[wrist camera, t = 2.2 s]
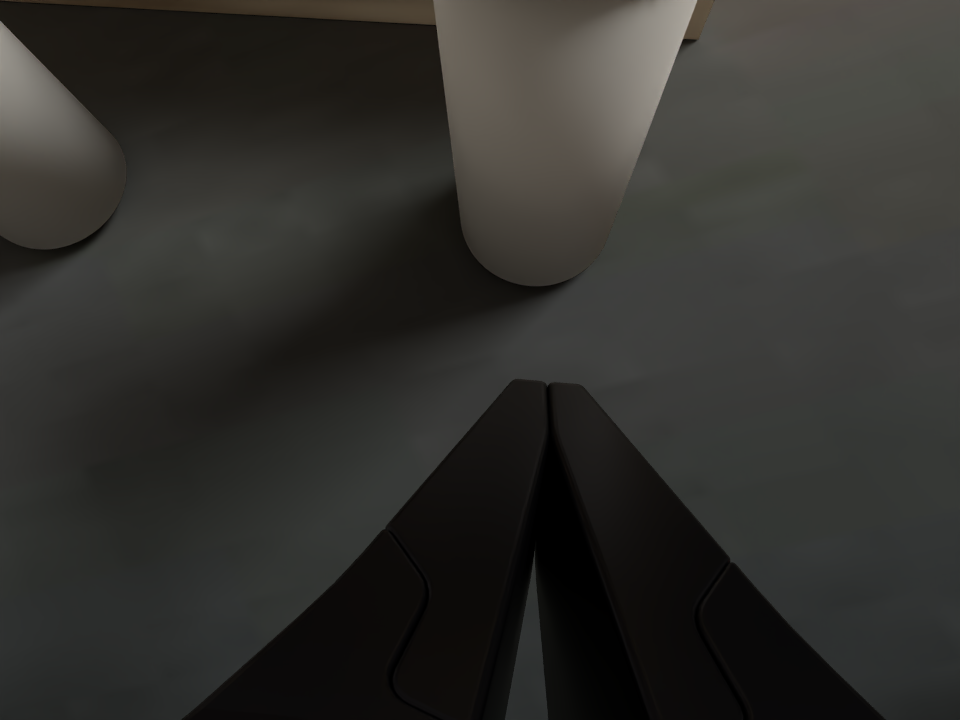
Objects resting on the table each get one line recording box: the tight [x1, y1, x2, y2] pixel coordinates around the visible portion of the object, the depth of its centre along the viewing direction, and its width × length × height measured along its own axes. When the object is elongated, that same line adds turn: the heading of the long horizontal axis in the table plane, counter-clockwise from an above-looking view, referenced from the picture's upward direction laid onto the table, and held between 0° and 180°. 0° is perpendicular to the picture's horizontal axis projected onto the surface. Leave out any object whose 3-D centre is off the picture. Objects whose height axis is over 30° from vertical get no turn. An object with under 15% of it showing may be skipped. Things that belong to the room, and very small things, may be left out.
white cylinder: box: [433, 0, 697, 286], centre depth 14 cm, size 5×5×14 cm
